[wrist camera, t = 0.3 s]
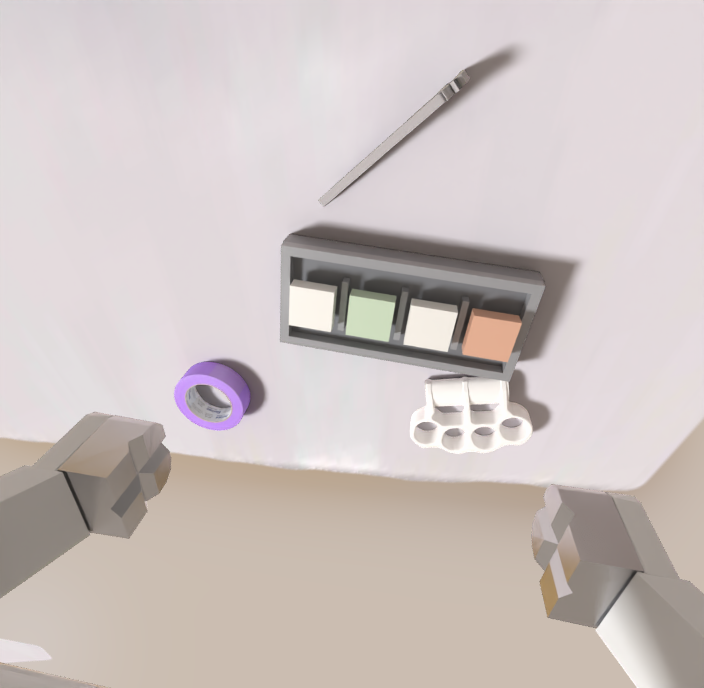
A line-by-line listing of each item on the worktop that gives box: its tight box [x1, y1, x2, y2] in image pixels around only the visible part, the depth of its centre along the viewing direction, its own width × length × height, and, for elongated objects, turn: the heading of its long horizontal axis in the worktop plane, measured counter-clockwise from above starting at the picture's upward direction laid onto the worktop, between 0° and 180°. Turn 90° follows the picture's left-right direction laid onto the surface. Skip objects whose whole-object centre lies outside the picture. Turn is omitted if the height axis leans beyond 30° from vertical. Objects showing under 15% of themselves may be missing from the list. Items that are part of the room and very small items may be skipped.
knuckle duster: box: [410, 377, 533, 454], centre depth 65 cm, size 3×18×15 cm
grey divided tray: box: [280, 234, 546, 382], centre depth 56 cm, size 14×32×4 cm, turn 84°
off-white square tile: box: [403, 298, 458, 352], centre depth 53 cm, size 6×6×2 cm
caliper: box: [318, 70, 470, 207], centre depth 46 cm, size 21×1×6 cm, turn 131°
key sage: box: [345, 289, 396, 342], centre depth 54 cm, size 6×6×2 cm
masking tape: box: [174, 362, 250, 430], centre depth 71 cm, size 12×12×4 cm
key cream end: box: [289, 279, 337, 332], centre depth 54 cm, size 6×6×2 cm
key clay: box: [462, 308, 522, 362], centre depth 53 cm, size 6×6×2 cm
